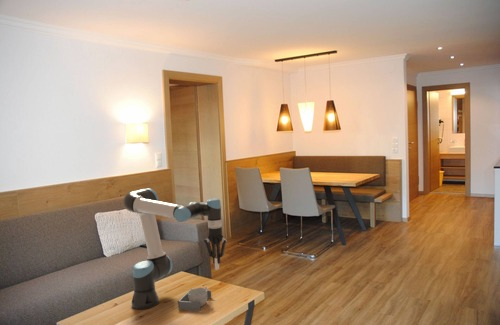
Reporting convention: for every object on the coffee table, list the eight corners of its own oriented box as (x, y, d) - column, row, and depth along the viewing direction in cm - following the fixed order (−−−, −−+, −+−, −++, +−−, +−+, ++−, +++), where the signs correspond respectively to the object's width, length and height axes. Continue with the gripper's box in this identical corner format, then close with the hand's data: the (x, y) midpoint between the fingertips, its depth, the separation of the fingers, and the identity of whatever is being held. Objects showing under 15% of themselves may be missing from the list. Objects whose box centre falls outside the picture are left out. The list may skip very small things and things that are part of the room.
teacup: (197, 310, 220) (196, 296, 220) (184, 305, 227) (183, 291, 227) (215, 301, 231) (215, 287, 230) (202, 297, 238) (201, 284, 237)
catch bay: (178, 309, 223) (177, 301, 223) (191, 296, 240) (190, 289, 240) (200, 310, 220) (199, 302, 219) (211, 297, 237) (211, 290, 236)
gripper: (201, 228, 221) (203, 270, 223) (224, 229, 218) (226, 271, 219) (206, 225, 228) (208, 266, 230) (228, 225, 225) (230, 267, 227)
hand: (217, 268), depth 225 cm, fingers closed
